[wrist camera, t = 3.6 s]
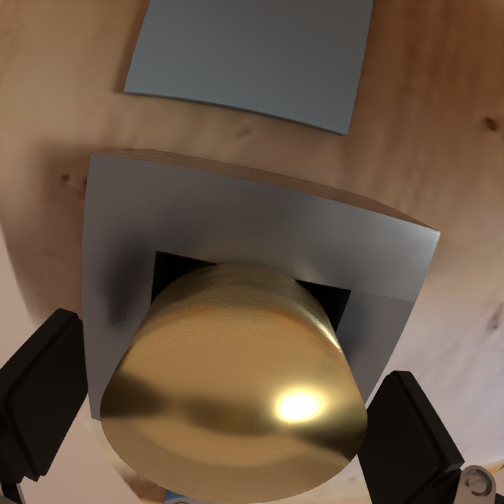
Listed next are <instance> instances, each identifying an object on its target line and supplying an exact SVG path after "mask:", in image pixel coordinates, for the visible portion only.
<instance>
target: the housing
mask: <svg viewBox="0 0 504 504" xmlns="http://www.w3.org/2000/svg"><path fill="white" fill-rule="evenodd" d="M440 233H441V232H440V231H438V230H436V229H434V228H432V227H430V226H428V225H426V224H424V223H422V222H420V221H418V220H416V219H414V218H412V217H410V216H408V215H406V214H404V213H402V212H399V211H397V210H395V209H393V208H391V207H389V206H387V205H385V204H382V203H380V202H378V201H376V200H373V199H369V198H366V197H363V196H359V195H356V194H352V193H348V192H345V191H341V190H338V189H334V188H330V187H326V186H323V185H319V184H315V183H311V182H307V181H303V180H299V179H295V178H291V177H287V176H283V175H278V174H274V173H270V172H265V171H261V170H256V169H252V168H247V167H243V166H238V165H233V164H228V163H223V162H218V161H213V160H208V159H203V158H197V157H192V156H186V155H181V154H175V153H169V152H163V151H157V150H150V149H145V150H124V151H108V152H95V153H91V155H90V162H89V169H88V177H87V185H86V194H85V205H84V216H83V231H82V252H81V314H82V321H83V331H84V347H85V360H86V370H87V380H88V396H89V403H90V410H91V416H92V418H93V419H96V420H99V421H101V419H100V405H101V399H102V396H103V393H104V391H105V389H106V387H107V385H108V383H109V381H110V379H111V377H112V375H113V373H114V371H115V369H116V367H117V366H118V364H119V362H120V360H121V358H122V356H123V354H124V352H125V351H126V349H127V347H128V345H129V343H130V341H131V340H132V338H133V336H134V334H135V332H136V331H137V329H138V327H139V325H140V323H141V322H142V320H143V318H144V316H145V315H146V313H147V311H148V309H149V308H150V306H151V304H152V303H153V301H154V300H155V298H156V297H157V296H158V294H159V293H160V292H161V291H162V290H163V289H164V288H165V287H166V286H168V285H169V284H170V283H172V282H173V281H174V280H176V279H177V278H179V277H180V273H181V266H182V260H183V256H185V257H189V258H194V259H199V260H204V261H208V262H213V263H218V264H223V263H247V264H254V265H260V266H263V267H267V268H271V269H274V270H276V271H279V272H281V273H284V274H286V275H288V276H289V277H291V278H293V279H297V280H302V285H303V286H304V287H306V288H307V289H308V290H309V291H310V292H311V293H312V294H313V295H314V296H315V297H316V298H317V300H318V301H319V303H320V304H321V305H322V307H323V309H324V311H325V313H326V315H327V317H328V319H329V321H330V323H331V326H332V328H333V330H334V332H335V335H336V337H337V339H338V342H339V344H340V346H341V349H342V351H343V353H344V356H345V358H346V361H347V363H348V365H349V368H350V370H351V372H352V375H353V377H354V380H355V382H356V385H357V387H358V389H359V392H360V394H361V397H362V399H363V402H364V404H365V403H366V402H367V400H368V398H369V396H370V394H371V393H372V391H373V389H374V387H375V385H376V384H377V382H378V380H379V378H380V376H381V374H382V372H383V370H384V368H385V367H386V365H387V363H388V361H389V359H390V357H391V355H392V353H393V351H394V348H395V346H396V344H397V342H398V340H399V338H400V336H401V334H402V332H403V329H404V327H405V325H406V323H407V320H408V318H409V316H410V314H411V311H412V309H413V306H414V304H415V302H416V299H417V297H418V294H419V292H420V289H421V287H422V284H423V282H424V279H425V276H426V274H427V271H428V268H429V266H430V263H431V260H432V257H433V254H434V251H435V248H436V245H437V242H438V239H439V236H440Z"/></svg>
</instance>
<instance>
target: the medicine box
mask: <svg viewBox="0 0 504 504" xmlns="http://www.w3.org/2000/svg"><path fill="white" fill-rule="evenodd" d="M164 504H227V503H216V502H209V501H204V500H199V499H195V498H191V497H187V496H184V495H181V494H178V493H175V492H172V491H170V490H167V492H166V496H165V501H164ZM253 504H262V503H253Z"/></svg>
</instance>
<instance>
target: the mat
mask: <svg viewBox="0 0 504 504" xmlns="http://www.w3.org/2000/svg"><path fill="white" fill-rule="evenodd" d="M373 1H374V0H151V1H150V3H149V6H148V9H147V12H146V15H145V18H144V21H143V24H142V27H141V30H140V33H139V36H138V39H137V43H136V46H135V50H134V53H133V57H132V60H131V64H130V68H129V71H128V75H127V79H126V83H125V87H124V92H126V93H128V94H131V95H141V96H150V97H159V98H167V99H175V100H182V101H189V102H195V103H202V104H208V105H213V106H219V107H224V108H230V109H235V110H240V111H245V112H250V113H254V114H259V115H264V116H268V117H272V118H276V119H281V120H285V121H289V122H293V123H297V124H301V125H304V126H308V127H312V128H315V129H319V130H322V131H326V132H329V133H333V134H336V135H339V136H346V135H348V131H349V126H350V122H351V117H352V113H353V108H354V104H355V99H356V94H357V90H358V85H359V80H360V75H361V70H362V65H363V59H364V54H365V49H366V43H367V38H368V32H369V26H370V20H371V14H372V8H373Z"/></svg>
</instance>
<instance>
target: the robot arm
mask: <svg viewBox="0 0 504 504" xmlns="http://www.w3.org/2000/svg"><path fill="white" fill-rule="evenodd" d="M87 393H88V380H87V370H86V360H85V347H84V331H83V321H82V320H80V319H79V317H78V314H77V313H74V312H71V311H68V310H65V309H62V308H59V309H57V310H56V311H55V312H54V313H53V314H52V315H51V316H50V317H49V318H48V319H47V320H46V321H45V322H44V323H43V324H42V325H41V326H40V327H39V328H38V329H37V330H36V331H35V332H34V334H33V335H32V336H31V337H30V338H29V339H28V340H27V341H26V342H25V343H24V344H23V345H22V346H21V347H20V348H19V349H18V351H17V352H16V353H15V354H14V355H13V356H12V357H11V358H10V359H9V361H7V362H6V364H5V365H4V366H3V367H2V368H1V369H0V504H26V502H25V499H24V496H23V493H22V490H21V487H20V484H19V483H21V481H22V479H23V477H24V476H26V477H27V478H29V479H31V480H33V481H35V482H37V481H38V479H39V477H40V475H42V476H45V475H46V474H47V472H48V470H49V468H50V466H51V464H52V462H53V460H54V458H55V456H56V453H57V452H58V450H59V448H60V446H61V443H62V441H63V440H64V438H65V436H66V434H67V432H68V430H69V428H70V426H71V424H72V422H73V420H74V419H75V417H76V415H77V413H78V411H79V409H80V407H81V406H82V404H83V402H84V400H85V398H86V396H87ZM366 412H367V431H366V435H365V438H364V441H363V443H362V446H361V448H360V449H359V451H358V452H357V455H358V459H359V462H360V465H361V468H362V471H363V475H364V478H365V481H366V484H367V488H368V491H369V494H370V498H371V501H372V504H504V496H502V495H500V494H497V493H496V483H495V480H494V478H493V476H492V475H491V473H490V472H489V471H487V470H486V469H485V468H483V467H481V466H477V465H470V466H468V467H466V468H465V469H464V470H463V471H461V469H460V467H461V466H462V465H463V464H464V462H465V461H464V459H463V457H462V456H461V454H460V452H459V450H458V448H457V447H456V445H455V443H454V442H453V440H452V438H451V436H450V435H449V433H448V431H447V430H446V428H445V426H444V425H443V423H442V421H441V419H440V418H439V416H438V415H437V413H436V411H435V410H434V408H433V406H432V405H431V403H430V401H429V400H428V398H427V397H426V395H425V393H424V392H423V390H422V389H421V387H420V385H419V384H418V382H417V381H416V379H415V378H414V376H413V374H412V373H411V372H409V371H392V372H391V373H390V374H389V375H387V376H386V377H385V378H384V380H383V382H382V384H381V386H380V387H379V389H378V391H377V393H376V395H375V396H374V398H373V400H372V402H371V403H370V405H369V407H368V408H367V410H366Z"/></svg>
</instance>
